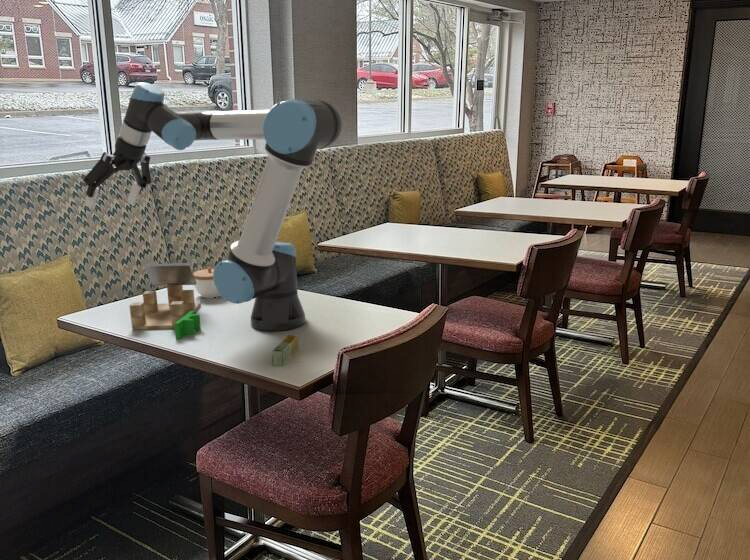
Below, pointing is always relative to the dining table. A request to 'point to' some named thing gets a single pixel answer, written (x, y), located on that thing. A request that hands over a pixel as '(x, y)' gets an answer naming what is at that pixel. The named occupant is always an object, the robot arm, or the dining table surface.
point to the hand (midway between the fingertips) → (110, 204)
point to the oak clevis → (162, 309)
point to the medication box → (284, 350)
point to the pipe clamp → (187, 325)
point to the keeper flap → (170, 274)
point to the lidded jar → (206, 283)
